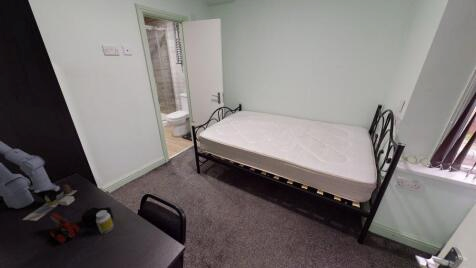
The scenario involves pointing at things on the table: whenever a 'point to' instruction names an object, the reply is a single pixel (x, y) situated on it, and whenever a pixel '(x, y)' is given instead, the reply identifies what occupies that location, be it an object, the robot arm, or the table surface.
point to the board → (42, 209)
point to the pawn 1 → (48, 200)
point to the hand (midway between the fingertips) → (50, 200)
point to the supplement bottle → (104, 222)
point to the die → (67, 200)
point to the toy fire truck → (63, 228)
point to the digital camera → (93, 216)
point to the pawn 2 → (66, 189)
